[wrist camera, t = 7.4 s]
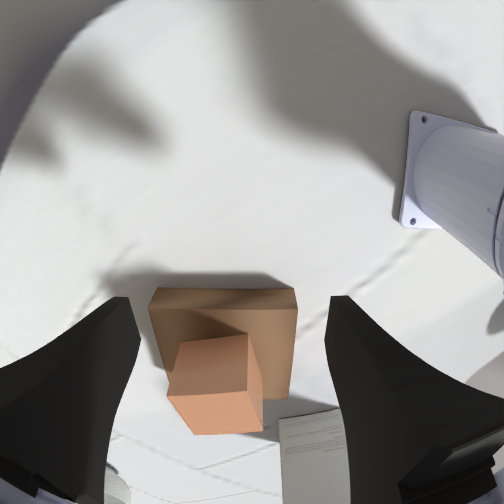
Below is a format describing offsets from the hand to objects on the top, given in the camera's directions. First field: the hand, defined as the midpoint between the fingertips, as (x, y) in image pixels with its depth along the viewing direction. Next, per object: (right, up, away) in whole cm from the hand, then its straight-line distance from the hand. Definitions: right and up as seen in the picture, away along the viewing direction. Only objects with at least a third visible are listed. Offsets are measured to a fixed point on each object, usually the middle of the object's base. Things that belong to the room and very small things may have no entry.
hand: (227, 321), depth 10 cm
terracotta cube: (-1, -6, +11) cm, 13 cm away
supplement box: (+8, -18, +20) cm, 28 cm away
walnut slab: (-1, -5, +14) cm, 15 cm away
